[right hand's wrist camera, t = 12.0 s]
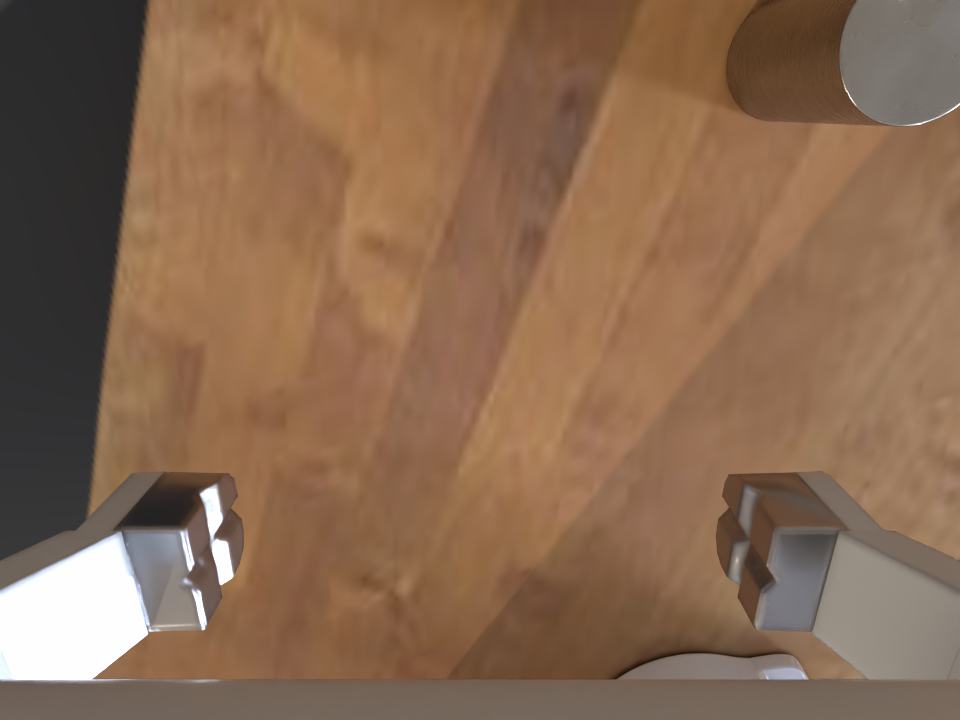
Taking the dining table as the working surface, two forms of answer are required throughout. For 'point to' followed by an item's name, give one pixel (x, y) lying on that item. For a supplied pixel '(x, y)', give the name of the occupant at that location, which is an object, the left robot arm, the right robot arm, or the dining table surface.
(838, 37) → the canister
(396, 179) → the dining table surface
